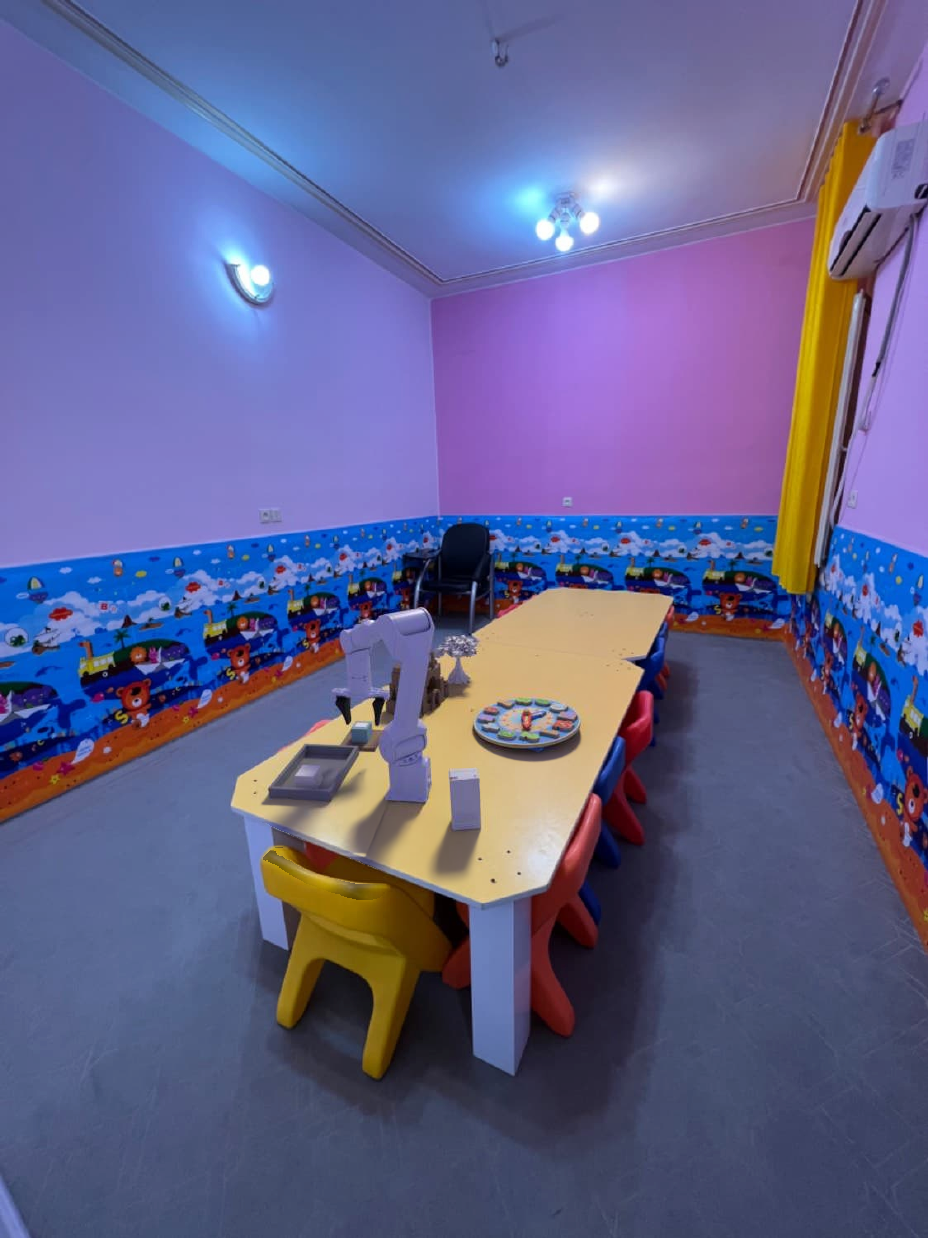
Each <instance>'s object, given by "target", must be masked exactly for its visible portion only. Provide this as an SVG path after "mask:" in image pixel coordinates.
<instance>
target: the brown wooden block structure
mask: <svg viewBox="0 0 928 1238" xmlns="http://www.w3.org/2000/svg"><path fill="white" fill-rule="evenodd" d="M429 656H430V657H429V664H428V670H427V675H426V681H425V686H424V692H423V698H422V703H421V709H420V714H419V717H421V716H425V715H426V714H428V713H429V712H431V711H435V710H436V705H437V706H439V707H440V706H441V705H442V703H443V702H444V701H445V699H447V698H448V697H449V693H450V692H449V690H450V689H449V683H448V681H447V680H445V679H444V676H442V675H441V674H442V671H441V662H438V659H436V657H435V651H433V650H432V651H431V650H430V651H429ZM401 665H402V662H401V661H400V663H395V665H393V667H392V672H391V673H390V677H391V681H390V682H389V683H388V686H389V687H388V690H389V691H390V697H389V699H388V700H386V701H385V713H386V715H391V716H394V713H395V706H396V700H397V693H398V686H399V679H400V672H401Z"/></svg>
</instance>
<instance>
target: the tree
mask: <svg viewBox="0 0 928 1238" xmlns="http://www.w3.org/2000/svg"><path fill="white" fill-rule="evenodd" d="M444 639H445V641H443V642H441V643H440V644H438V647H435V648H434V649H433V652H434V656H435V658H437V660H439V659H440V658H441V657H442V658H443V657H444V656H445V654H447V655H448V656H449V657H451V658H452V659H453V658H455V659H456V661H455V665H454V667H453V669H452V671H450V672H449V674H448V676H447V680H446V681H447V682H448V684H450V685H452V684H454V685H455V684H456V685H463V684H465V685H467V682H468V683H469V682H471V678H472V677H470V676H469V675H468V674H467V673H466V672H465V670H464V669H463V666H462V662H461V658H462V657H463V658H472V656H476V655H477V654H478V651H477V647H479V645H478V644H479V642H474V640H475V639H474V638H471V637H468V636H467V637H466V636H465V635H460V636H457V635H449V636H448V637H447V636H444Z"/></svg>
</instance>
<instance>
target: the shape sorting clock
mask: <svg viewBox="0 0 928 1238" xmlns="http://www.w3.org/2000/svg"><path fill="white" fill-rule="evenodd" d="M581 723H582V722H581V717H580V715H579V713H578V712H577V711H576V709H574V708H573V707H571V706H569V705H567V704H566V703H564V702H560V701H557V700H553V699H548V698H542V697H541V698H540V697H516V698H511V699H507V700H501V699H499V700H498V701H497V702H496V703H492V704H489V705H488V706H485V707H484V708H483V709H481V710H479V712H477V713H476V715H475V717H474V719H473V728H474V731H475V733H476V734H477V736H479V737H480V738H482V739H483V740H485V741H487V742H489V743H492V744H494V745H496V746H497V745H498V746H502V747H507V748H514V749H526V748H527V750H528V751H529V750H530V751H533V752H536V753H541V751H542V750H544V749H545V748H546V747H549V746H552V745H556V744H559V743H561V742H563V741H566V740H568V739H570V738H571V737H572V738H573V736H574V735H575V734H576V733H577V732H579V730H580V729H581V725H582V724H581Z"/></svg>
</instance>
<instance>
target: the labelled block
mask: <svg viewBox="0 0 928 1238" xmlns="http://www.w3.org/2000/svg"><path fill="white" fill-rule="evenodd" d="M350 730H351V738H352V742H362V743H368V742H369V740H370V738H371V737H372V735H373V732H372V730H373V722H372V721H370V720H369V721H366V720H365V721H360V720H355V722H354V723H353V725H352V726H351V727H350Z"/></svg>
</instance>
